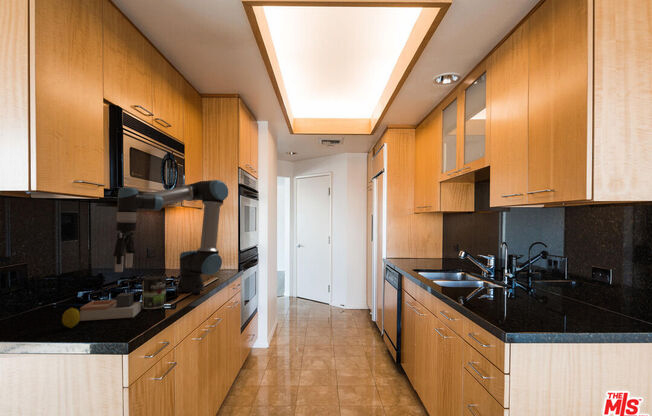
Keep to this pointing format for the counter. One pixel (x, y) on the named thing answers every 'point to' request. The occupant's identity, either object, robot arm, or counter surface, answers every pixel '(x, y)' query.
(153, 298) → the coffee can
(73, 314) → the lemon
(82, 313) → the box
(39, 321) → the counter surface
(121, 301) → the breaker button
